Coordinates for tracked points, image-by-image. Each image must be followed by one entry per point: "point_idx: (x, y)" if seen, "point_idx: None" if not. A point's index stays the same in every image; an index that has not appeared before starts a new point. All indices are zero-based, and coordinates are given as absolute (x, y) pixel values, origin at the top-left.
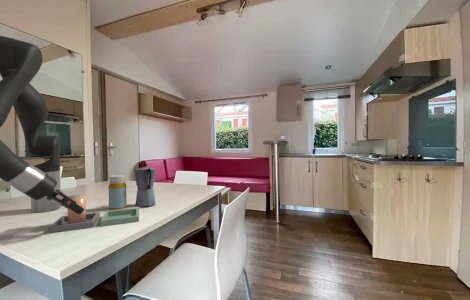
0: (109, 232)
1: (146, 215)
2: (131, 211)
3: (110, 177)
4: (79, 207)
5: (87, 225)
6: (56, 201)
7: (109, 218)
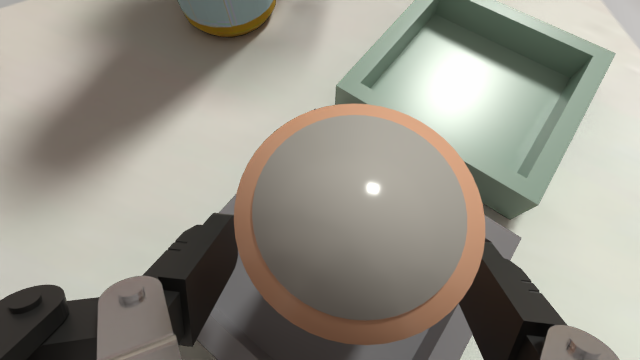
0: (629, 230)
1: None
2: (426, 16)
3: None
4: (539, 294)
5: None
6: None
7: None
